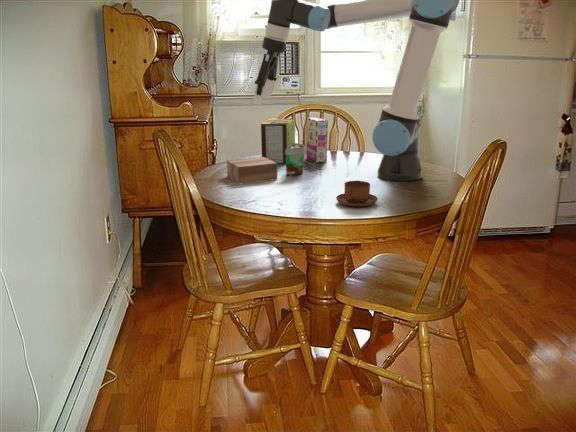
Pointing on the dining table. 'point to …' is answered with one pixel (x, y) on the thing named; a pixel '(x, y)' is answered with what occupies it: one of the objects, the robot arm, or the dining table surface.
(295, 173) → the food container
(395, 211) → the dining table surface
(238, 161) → the walnut block
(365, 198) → the cup and saucer
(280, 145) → the protein box
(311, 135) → the candy bar box
